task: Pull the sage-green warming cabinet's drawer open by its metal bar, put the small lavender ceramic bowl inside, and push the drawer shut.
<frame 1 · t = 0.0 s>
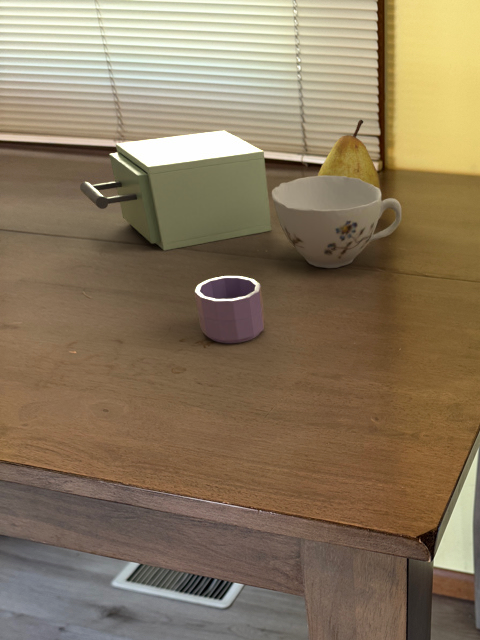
drawer: (163, 193, 95), point 5 cm above the table, slide at 0.0 cm
teacup: (340, 261, 92), on the table
bowl: (234, 331, 76), on the table
fruit: (348, 222, 103), on the table
cabinet: (201, 226, 100), on the table
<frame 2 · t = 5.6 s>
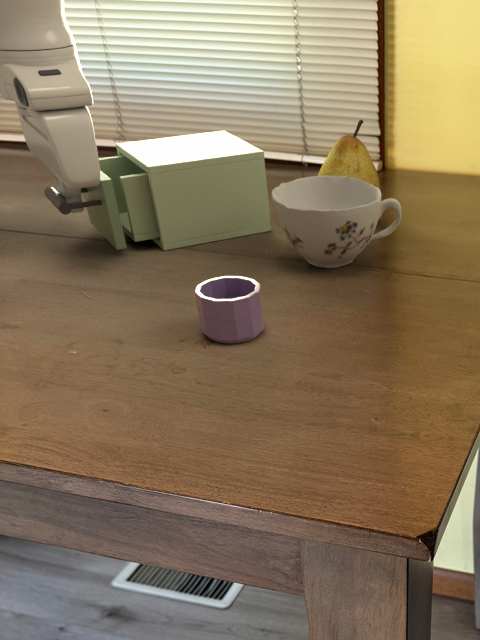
hand: (73, 209, 91), 4 cm above the table, tool pointing down, fingers closed, pressing on drawer
drawer: (130, 198, 94), point 5 cm above the table, slide at 4.2 cm, touching gripper
everything else where it was.
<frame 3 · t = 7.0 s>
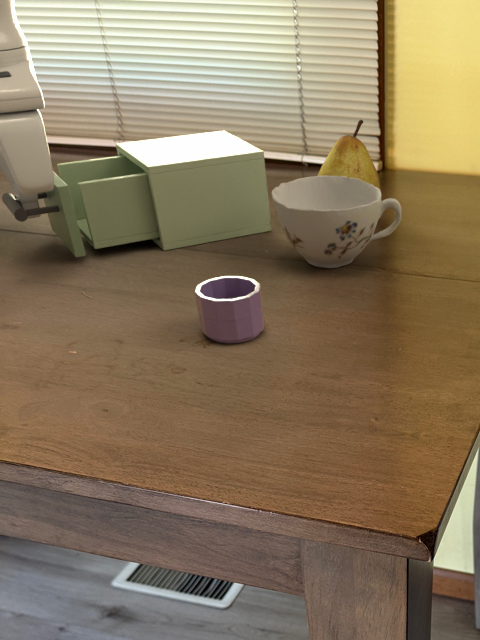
hand: (31, 214, 89), 5 cm above the table, tool pointing down, fingers closed, pressing on drawer
drawer: (90, 204, 92), point 5 cm above the table, slide at 9.1 cm, touching gripper
everything else where it was.
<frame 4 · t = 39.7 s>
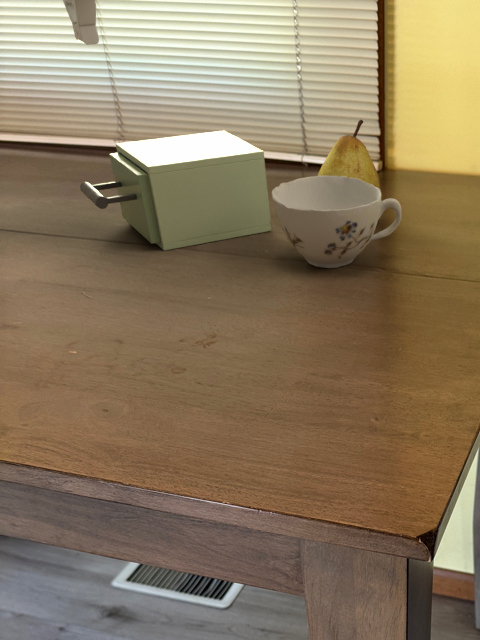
hand: (88, 42, 83), 21 cm above the table, tool pointing down, fingers closed
drawer: (163, 193, 95), point 5 cm above the table, slide at 0.0 cm, touching bowl
bowl: (182, 213, 98), point 2 cm above the table, touching drawer
everything else where it was.
at the end: drawer pulled out 9.4 cm at the most during the clip, back to where it started at the end; bowl inside the target area in the cabinet (2.3 cm from its centre), point 2.0 cm above the cabinet's base; drawer slide at 0.0 cm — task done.
